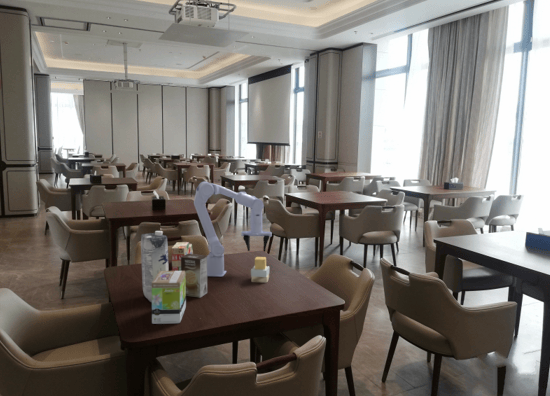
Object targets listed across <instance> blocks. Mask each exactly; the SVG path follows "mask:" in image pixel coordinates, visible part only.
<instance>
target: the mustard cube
mask: <svg viewBox="0 0 550 396" xmlns="http://www.w3.org/2000/svg"><path fill="white" fill-rule="evenodd" d="M254 266H255V269H265V268H266V266H267V257H266V256H256V257H254Z"/></svg>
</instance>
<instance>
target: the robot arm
mask: <svg viewBox="0 0 550 396" xmlns="http://www.w3.org/2000/svg"><path fill="white" fill-rule="evenodd" d="M219 194H221V195H223V196H226V197H228V198H230V199H233V200H235V203H237V204H238V205H240V206H244V207H246V208H250V230H248V231H247V230H245V231H241V232H240V233H241V234H240V235H241V237H243V240H244V241H243V242H245V244H246V248H247V251H248V252H250V250H251V245H250V241H251V237H263V238H262V239H263V249H262V250H263V252H264V253H265V252H266V251H267V250H266V249H267V244H268V241H269V240H270V238H271V237H272V236H273V235H272V234H273V233H272V231H264V230H263V209H264V207H265V204H264V201H263V200H262V199H260V198H257V197H256V196H255V195H250V194H247V192H246V191H239V192H236V191H233V190H231V189H229V188H227V187H224V186H222V185H221V184H220V185H219V184H216V183H213V182H208V181H201V182H200V183H199V184H198V186H197V187H196V189H195V195H194V198H193V205H194V208H195V211H196V213H197V216H198V219H199V221H200V223H201V226H202V228H203V229H202V230H203V232H204V234H205V237H206V240H207V244H208V245H207V248H208V251H209V253H208V255H206V256H207V277H224V276H225V274H226V273H227V270H225V255H224V253H225V247H224V245H223V244H221V242H220V240H219V237H218V236H217V234H216V230H215V228H214V225H213V222H212V219H211V218H210V214H209V212H208V209H207V206H206V203H207V201H208V200H209V199H210V198H211V197H212V196H213V195H219Z"/></svg>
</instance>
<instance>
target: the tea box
mask: <svg viewBox="0 0 550 396" xmlns="http://www.w3.org/2000/svg"><path fill="white" fill-rule="evenodd" d="M186 307H187V296H186V279H185V271H172V270H169V271H159V273H158V274H157V276H156V277H155V279H154V280H153V282H152V302H151V324H153V325H154V324H156V325H162V324H163V325H165V324H180V323H181V321H182V319H183V316H184V314H185V310H186Z"/></svg>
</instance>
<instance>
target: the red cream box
mask: <svg viewBox="0 0 550 396" xmlns="http://www.w3.org/2000/svg"><path fill="white" fill-rule="evenodd" d="M170 250H171V271H181V257H182V256H184V255H186V254H188V253H189V254H194V251H193V244H192V243H190V242H189V241H188V242H187V241H182V242H177V241H176V243H175V244H174V245H173V246H172V247H171V249H170Z"/></svg>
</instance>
